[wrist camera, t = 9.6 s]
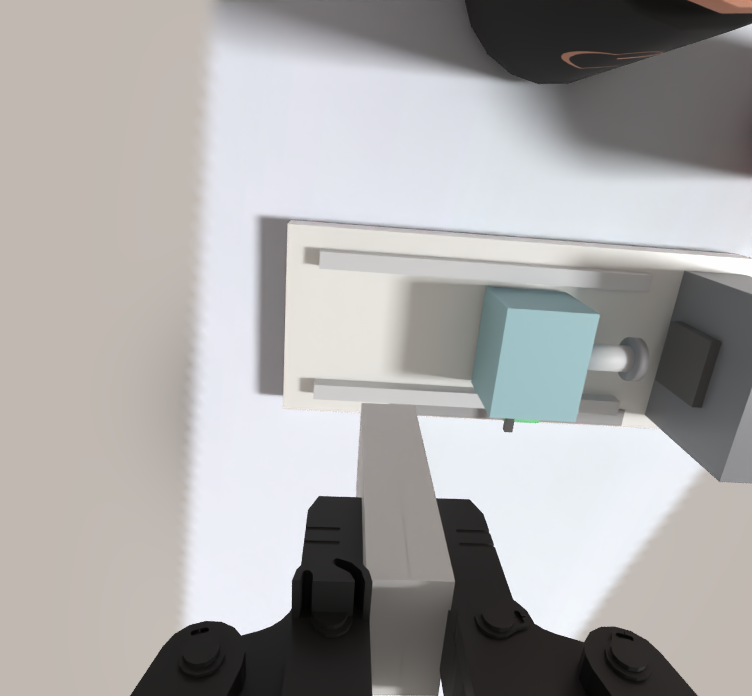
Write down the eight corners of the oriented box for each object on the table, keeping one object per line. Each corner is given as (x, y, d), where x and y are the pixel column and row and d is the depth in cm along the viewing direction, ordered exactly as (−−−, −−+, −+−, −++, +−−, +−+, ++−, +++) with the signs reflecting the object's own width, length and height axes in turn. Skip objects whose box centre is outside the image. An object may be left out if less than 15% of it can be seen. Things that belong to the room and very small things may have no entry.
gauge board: (291, 219, 33) (267, 246, 24) (736, 253, 35) (875, 290, 26) (286, 396, 38) (264, 477, 28) (686, 417, 39) (791, 500, 30)
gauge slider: (485, 286, 33) (507, 308, 28) (627, 296, 34) (672, 319, 29) (465, 419, 36) (482, 458, 31) (595, 426, 37) (631, 466, 32)
